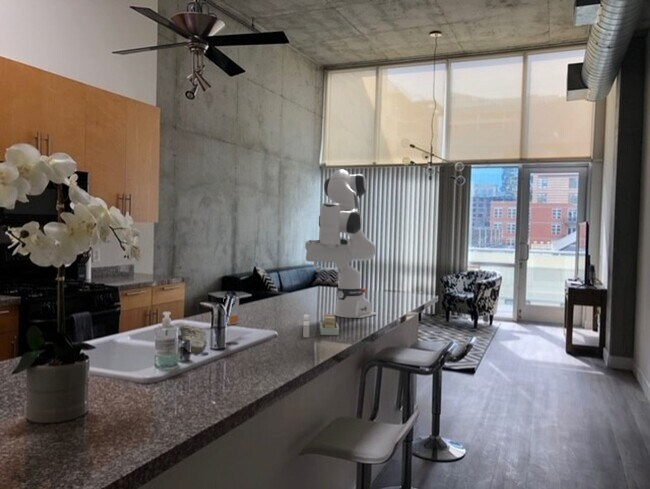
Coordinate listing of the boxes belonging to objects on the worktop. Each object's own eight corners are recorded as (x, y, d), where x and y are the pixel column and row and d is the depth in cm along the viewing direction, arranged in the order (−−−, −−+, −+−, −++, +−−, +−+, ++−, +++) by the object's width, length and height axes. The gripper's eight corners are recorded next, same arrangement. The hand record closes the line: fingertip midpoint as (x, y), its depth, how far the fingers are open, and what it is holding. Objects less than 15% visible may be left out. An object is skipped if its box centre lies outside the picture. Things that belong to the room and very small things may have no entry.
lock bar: (334, 332, 218) (334, 318, 218) (325, 332, 218) (325, 317, 218) (333, 327, 228) (333, 314, 228) (324, 327, 228) (324, 313, 228)
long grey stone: (179, 358, 180) (208, 358, 182) (180, 343, 179) (209, 344, 182) (178, 332, 213) (203, 332, 216) (179, 319, 213) (204, 320, 216)
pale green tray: (320, 328, 230) (320, 322, 230) (337, 328, 230) (337, 322, 230) (320, 334, 216) (320, 328, 216) (338, 335, 217) (339, 328, 217)
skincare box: (228, 325, 232) (229, 298, 232) (222, 323, 235) (223, 297, 234) (238, 323, 237) (239, 297, 236) (232, 322, 239) (233, 296, 239)
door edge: (303, 324, 237) (304, 313, 237) (309, 325, 237) (309, 313, 237) (303, 337, 211) (303, 324, 211) (309, 337, 211) (309, 324, 211)
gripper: (305, 240, 220) (304, 272, 220) (353, 241, 220) (352, 273, 221) (305, 239, 226) (304, 271, 227) (352, 240, 227) (351, 272, 227)
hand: (328, 272), depth 224 cm, fingers open, 8 cm apart
